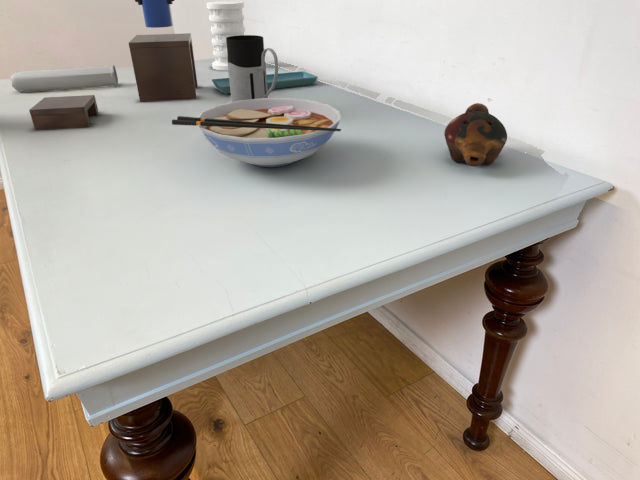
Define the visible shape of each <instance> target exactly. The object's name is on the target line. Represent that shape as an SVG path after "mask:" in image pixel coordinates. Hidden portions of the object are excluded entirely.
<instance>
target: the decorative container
mask: <svg viewBox="0 0 640 480" xmlns="http://www.w3.org/2000/svg"><path fill="white" fill-rule="evenodd" d="M205 5H206V9H207V10H209V16H208V20H209V22H210V33H211V44H212V46H213V50H212V54H213V56H214V61H213V62H212V63H211V65H212V69H213V70H216V71H222V72H223V71H225V72H226V71H227V72H229V71H228V61H227V56H228V53H227V42H226V38H227V37H231V36H239V35H245V30H246V28H245V25H244V19H245V16H244V14H243V8H245V2H244V1H239V0H222V1H221V0H220V1H219V0H218V1H209V2H205Z"/></svg>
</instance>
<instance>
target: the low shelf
mask: <svg viewBox="0 0 640 480" xmlns="http://www.w3.org/2000/svg"><path fill="white" fill-rule="evenodd" d="M99 113H100V112H99V108H98V104H97V99H96V95H95V94H87V95H86V94H85V95H67V96H47V97H43V98H42V99H41V100H39V101H38V102H37V103H36V104H34V105H33V106H32V107H31V108H29V115H30V118H31V121H32V124H33V127H34V131H44V130H45V131H47V130H60V129H61V130H62V129H77V128H89V127H91V121H90V117H94V116H98V115H99Z"/></svg>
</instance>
